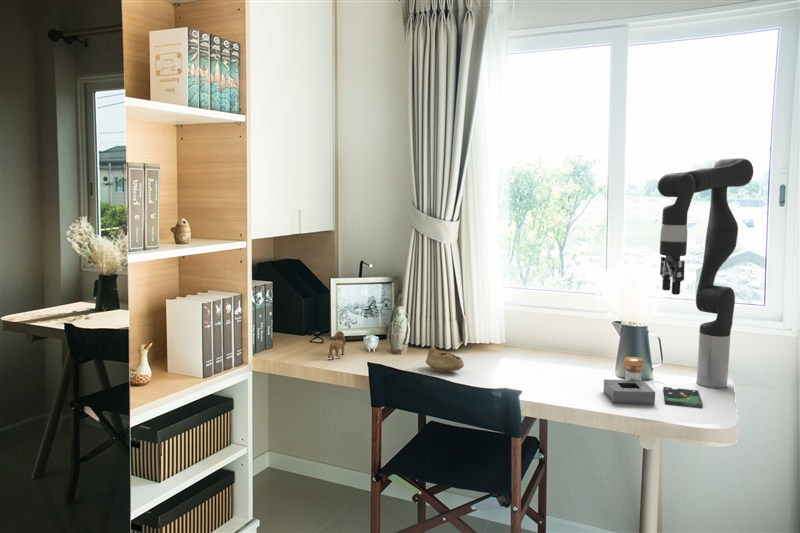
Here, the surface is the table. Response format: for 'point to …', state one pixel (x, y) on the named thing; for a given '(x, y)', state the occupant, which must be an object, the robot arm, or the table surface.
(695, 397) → the disk drive
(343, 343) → the lion figurine
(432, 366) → the oil lamp
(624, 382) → the housing
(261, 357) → the table surface
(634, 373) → the capped jar
